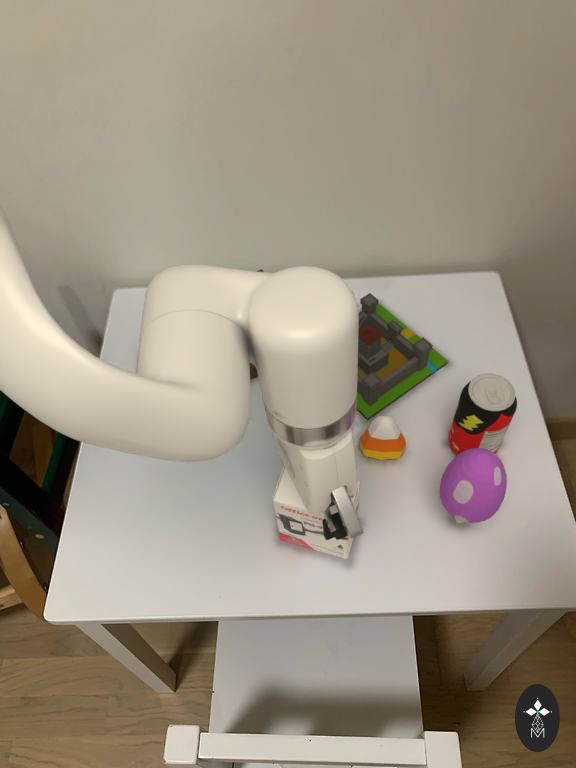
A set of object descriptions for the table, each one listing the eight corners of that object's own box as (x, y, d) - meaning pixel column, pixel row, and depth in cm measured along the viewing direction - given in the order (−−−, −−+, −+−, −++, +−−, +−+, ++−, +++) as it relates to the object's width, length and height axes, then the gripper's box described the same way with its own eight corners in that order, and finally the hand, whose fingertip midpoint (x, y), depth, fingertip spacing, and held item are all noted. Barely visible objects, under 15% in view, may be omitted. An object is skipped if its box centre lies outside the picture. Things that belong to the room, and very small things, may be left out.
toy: (492, 546, 69) (525, 490, 57) (433, 545, 69) (454, 489, 57) (483, 493, 73) (513, 430, 60) (428, 492, 73) (446, 430, 61)
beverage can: (487, 419, 79) (508, 364, 69) (505, 461, 75) (530, 409, 65) (441, 427, 78) (455, 373, 69) (456, 469, 75) (474, 419, 65)
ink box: (278, 541, 71) (269, 500, 61) (291, 504, 74) (284, 459, 64) (348, 561, 69) (349, 522, 59) (358, 522, 72) (361, 478, 62)
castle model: (299, 353, 87) (296, 319, 81) (376, 304, 92) (379, 268, 86) (367, 420, 80) (369, 389, 74) (447, 363, 84) (456, 329, 78)
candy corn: (358, 459, 76) (359, 427, 70) (359, 439, 78) (361, 406, 72) (405, 463, 76) (411, 430, 69) (405, 442, 77) (411, 409, 71)
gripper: (231, 343, 52) (255, 440, 66) (312, 510, 43) (321, 582, 57) (308, 314, 54) (316, 415, 68) (404, 470, 44) (390, 550, 58)
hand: (318, 491), depth 62 cm, fingers open, 9 cm apart
